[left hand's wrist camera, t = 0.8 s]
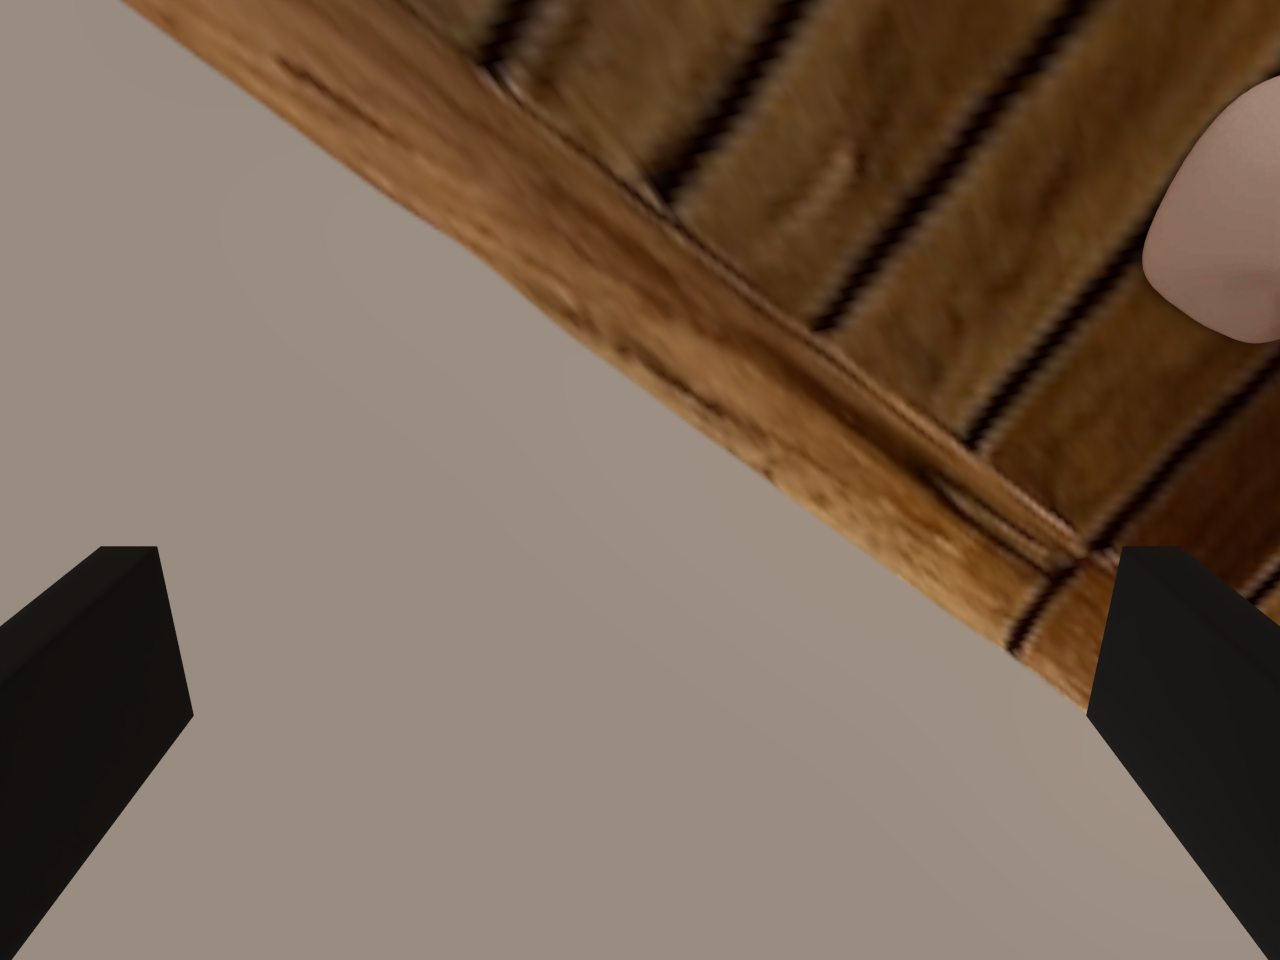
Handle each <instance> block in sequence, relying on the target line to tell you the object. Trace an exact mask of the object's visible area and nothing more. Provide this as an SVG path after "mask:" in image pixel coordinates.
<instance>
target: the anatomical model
mask: <svg viewBox="0 0 1280 960" xmlns="http://www.w3.org/2000/svg"><path fill="white" fill-rule="evenodd" d="M1142 264H1143V270H1144V273H1145V276H1146V278H1147V279H1148V281H1149V283H1150V284H1151V285H1152V286H1153V288H1154V289H1155V290H1156V291H1158V292H1159V293H1160V294H1161V295H1162V296H1163V297H1164V298H1165V299H1166V300H1167V301H1169V302H1170V303H1172V304H1173V305H1174V306H1176V307H1177V308H1179V309H1180V310H1181V311H1183V312H1184V313H1186V314H1187V315H1188V316H1190V317H1191V318H1193V319H1194V320H1196V321H1197V322H1199V323H1201V324H1202V325H1204V326H1206V327H1208V328H1210V329H1213V330H1215V331H1217V332H1219V333H1221V334H1224V335H1226V336H1228V337H1230V338H1233V339H1235V340H1238V341H1242V342H1247V343H1264V342H1270V341H1275V340H1278V339H1280V76H1277V77H1274V78H1272V79H1270V80H1267V81H1265V82H1263V83H1261V84H1259V85H1257V86H1255V87H1253V88H1252V89H1250V90H1249V91H1247V92H1245V93H1244V94H1242V95H1241V96H1240V97H1239V98H1237V99H1236V100H1235V101H1234V102H1233V103H1231V104H1230V105H1229V106H1228V107H1227V108H1226V109H1225V110H1224V111H1223V112H1222V113H1221V114H1220V115H1219V116H1218V117H1217V118H1216V119H1215V120H1214V122H1213V123H1212V124H1211V125H1210V126H1209V128H1208V129H1207V130H1206V131H1205V133H1204V134H1203V135H1202V136H1201V137H1200V139H1199V140H1198V141H1197V143H1196V144H1195V146H1194V147H1193V149H1192V150H1191V152H1190V153H1189V155H1188V156H1187V158H1186V159H1185V161H1184V162H1183V164H1182V166H1181V167H1180V169H1179V171H1178V173H1177V174H1176V176H1175V178H1174V180H1173V181H1172V183H1171V185H1170V186H1169V188H1168V190H1167V192H1166V194H1165V196H1164V198H1163V200H1162V202H1161V204H1160V206H1159V208H1158V210H1157V212H1156V215H1155V217H1154V219H1153V222H1152V224H1151V227H1150V229H1149V232H1148V235H1147V237H1146V241H1145V244H1144V250H1143V255H1142Z"/></svg>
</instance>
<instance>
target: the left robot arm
mask: <svg viewBox="0 0 1280 960" xmlns="http://www.w3.org/2000/svg"><path fill="white" fill-rule="evenodd" d="M193 716H194V715H193V710H192V705H191V701H190V696H189V691H188V687H187V682H186V678H185V673H184V668H183V664H182V659H181V654H180V650H179V645H178V641H177V636H176V631H175V627H174V622H173V617H172V613H171V608H170V604H169V599H168V594H167V590H166V585H165V580H164V576H163V571H162V566H161V562H160V557H159V553H158V548H157V546H101V547H99V548H98V549H97V550H96V551H94V552H93V553H92V554H91V555H89V556H88V557H87V558H86V559H84V560H83V561H82V562H81V563H79V564H78V565H77V566H76V567H74V568H73V569H72V570H71V571H69V572H68V573H67V574H66V575H64V576H63V577H62V578H61V579H59V580H58V581H57V582H55V583H54V584H53V585H52V586H51V587H49V588H48V589H47V590H45V591H44V592H43V593H42V594H40V595H39V596H38V597H37V598H35V599H34V600H33V601H32V602H30V603H29V604H28V605H27V606H25V607H24V608H23V609H22V610H20V611H19V612H18V613H17V614H15V615H14V616H13V617H12V618H10V619H9V620H8V621H6V622H5V623H4V624H3V625H2V626H0V960H12V959H13V957H14V956H15V955H16V953H17V952H18V951H19V949H20V948H21V947H22V945H23V944H24V943H25V941H26V940H27V938H28V937H29V936H30V934H31V933H32V932H33V930H34V929H35V928H36V926H37V925H38V924H39V922H40V921H41V920H42V918H43V917H44V916H45V914H46V913H47V912H48V910H49V909H50V908H51V906H52V905H53V904H54V902H55V901H56V900H57V898H58V897H59V896H60V894H61V893H62V892H63V890H64V889H65V888H66V886H67V885H68V884H69V882H70V881H71V880H72V878H73V877H74V876H75V874H76V873H77V871H78V870H79V869H80V867H81V866H82V865H83V863H84V862H85V861H86V859H87V858H88V857H89V855H90V854H91V853H92V851H93V850H94V849H95V847H96V846H97V845H98V843H99V842H100V841H101V839H102V838H103V837H104V835H105V834H106V833H107V831H108V830H109V829H110V827H111V826H112V825H113V823H114V822H115V821H116V819H117V818H118V816H119V815H120V814H121V812H122V811H123V810H124V808H125V807H126V806H127V804H128V803H129V802H130V800H131V799H132V798H133V796H134V795H135V794H136V792H137V791H138V790H139V788H140V787H141V786H142V784H143V783H144V782H145V780H146V779H147V778H148V776H149V775H150V774H151V772H152V771H153V770H154V768H155V767H156V765H157V764H158V763H159V761H160V760H161V759H162V757H163V756H164V755H165V753H166V752H167V751H168V749H169V748H170V747H171V745H172V744H173V743H174V741H175V740H176V739H177V737H178V736H179V735H180V733H181V732H182V731H183V729H184V728H185V727H186V725H187V724H188V723H189V721H190V720H191V719H192V717H193ZM1086 716H1087V717H1088V719H1089V720H1090V721H1091V723H1092V724H1093V725H1094V727H1095V728H1096V729H1097V731H1098V732H1099V733H1100V735H1101V736H1102V737H1103V739H1104V740H1105V741H1106V743H1107V744H1108V745H1109V747H1110V748H1111V749H1112V751H1113V752H1114V753H1115V755H1116V756H1117V757H1118V759H1119V760H1120V761H1121V763H1122V764H1123V766H1124V767H1125V768H1126V770H1127V771H1128V772H1129V774H1130V775H1131V776H1132V778H1133V779H1134V780H1135V782H1136V783H1137V784H1138V786H1139V787H1140V788H1141V790H1142V791H1143V792H1144V794H1145V795H1146V796H1147V798H1148V799H1149V800H1150V802H1151V803H1152V804H1153V806H1154V807H1155V808H1156V810H1157V811H1158V812H1159V814H1160V815H1161V817H1162V818H1163V819H1164V821H1165V822H1166V823H1167V825H1168V826H1169V827H1170V829H1171V830H1172V831H1173V833H1174V834H1175V835H1176V837H1177V838H1178V839H1179V841H1180V842H1181V843H1182V845H1183V846H1184V847H1185V849H1186V850H1187V851H1188V853H1189V854H1190V855H1191V857H1192V858H1193V859H1194V861H1195V862H1196V863H1197V865H1198V866H1199V867H1200V869H1201V870H1202V871H1203V873H1204V874H1205V876H1206V877H1207V878H1208V880H1209V881H1210V882H1211V884H1212V885H1213V886H1214V888H1215V889H1216V890H1217V892H1218V893H1219V894H1220V896H1221V897H1222V898H1223V900H1224V901H1225V902H1226V904H1227V905H1228V906H1229V908H1230V909H1231V910H1232V912H1233V913H1234V914H1235V916H1236V917H1237V918H1238V920H1239V921H1240V922H1241V924H1242V925H1243V926H1244V928H1245V929H1246V930H1247V932H1248V933H1249V934H1250V936H1251V937H1252V939H1253V940H1254V941H1255V943H1256V944H1257V945H1258V947H1259V948H1260V949H1261V951H1262V952H1263V953H1264V955H1265V956H1266V957H1267V959H1268V960H1280V626H1279V625H1277V624H1276V623H1275V622H1274V621H1272V620H1271V619H1270V618H1269V617H1267V616H1266V615H1265V614H1263V613H1262V612H1261V611H1260V610H1258V609H1257V608H1256V607H1255V606H1253V605H1252V604H1251V603H1250V602H1248V601H1247V600H1246V599H1245V598H1243V597H1242V596H1241V595H1240V594H1238V593H1237V592H1236V591H1235V590H1233V589H1232V588H1231V587H1230V586H1228V585H1227V584H1226V583H1225V582H1223V581H1222V580H1221V579H1220V578H1218V577H1217V576H1216V575H1214V574H1213V573H1212V572H1211V571H1209V570H1208V569H1207V568H1206V567H1204V566H1203V565H1202V564H1201V563H1199V562H1198V561H1197V560H1196V559H1194V558H1193V557H1192V556H1191V555H1189V554H1188V553H1187V552H1186V551H1184V550H1183V549H1182V548H1181V547H1179V546H1123V548H1122V553H1121V557H1120V562H1119V566H1118V571H1117V576H1116V580H1115V585H1114V590H1113V594H1112V599H1111V604H1110V608H1109V613H1108V617H1107V622H1106V627H1105V631H1104V636H1103V641H1102V645H1101V650H1100V654H1099V659H1098V664H1097V668H1096V673H1095V678H1094V682H1093V687H1092V691H1091V696H1090V701H1089V705H1088V710H1087V715H1086Z"/></svg>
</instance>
